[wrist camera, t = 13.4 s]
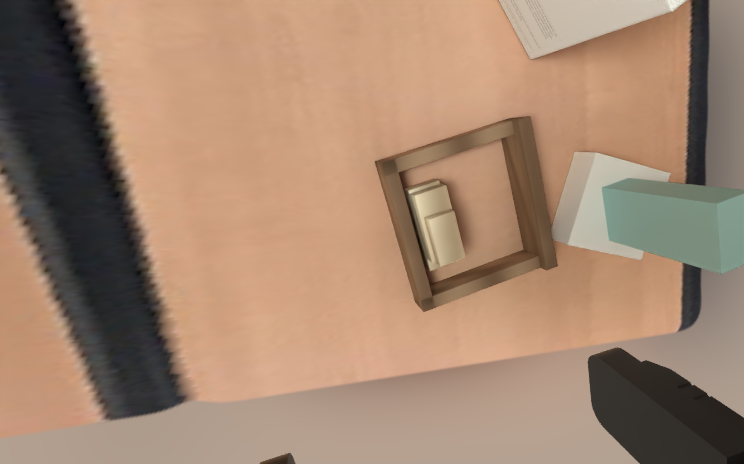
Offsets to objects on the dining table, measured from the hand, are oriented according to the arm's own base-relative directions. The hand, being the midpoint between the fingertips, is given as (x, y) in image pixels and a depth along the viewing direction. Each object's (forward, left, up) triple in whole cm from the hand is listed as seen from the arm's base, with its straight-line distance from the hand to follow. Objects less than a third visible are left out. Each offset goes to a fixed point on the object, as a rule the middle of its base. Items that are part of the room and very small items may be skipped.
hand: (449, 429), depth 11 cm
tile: (-7, +27, -29) cm, 40 cm away
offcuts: (-2, +10, -29) cm, 30 cm away
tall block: (-7, +27, -26) cm, 38 cm away
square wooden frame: (-3, +13, -29) cm, 32 cm away
